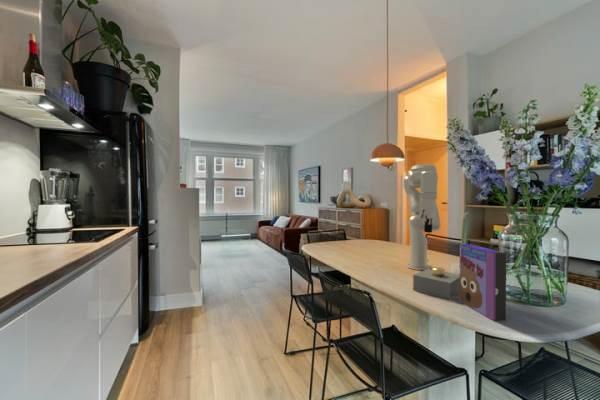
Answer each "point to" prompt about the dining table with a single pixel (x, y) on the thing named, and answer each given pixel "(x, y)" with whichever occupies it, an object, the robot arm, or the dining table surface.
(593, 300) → the dining table surface
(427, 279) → the block
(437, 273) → the brass pin
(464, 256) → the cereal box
